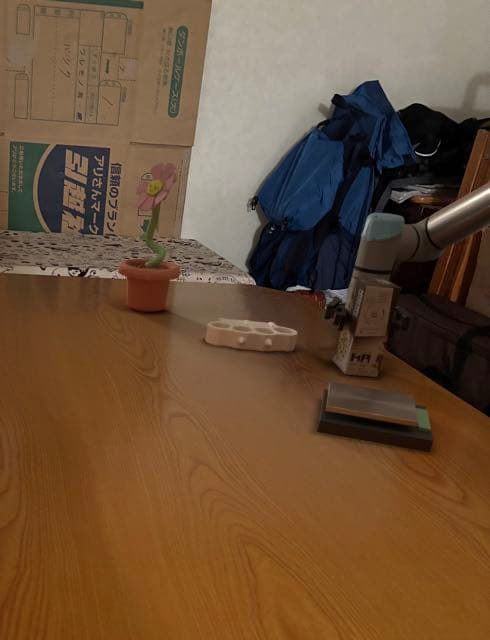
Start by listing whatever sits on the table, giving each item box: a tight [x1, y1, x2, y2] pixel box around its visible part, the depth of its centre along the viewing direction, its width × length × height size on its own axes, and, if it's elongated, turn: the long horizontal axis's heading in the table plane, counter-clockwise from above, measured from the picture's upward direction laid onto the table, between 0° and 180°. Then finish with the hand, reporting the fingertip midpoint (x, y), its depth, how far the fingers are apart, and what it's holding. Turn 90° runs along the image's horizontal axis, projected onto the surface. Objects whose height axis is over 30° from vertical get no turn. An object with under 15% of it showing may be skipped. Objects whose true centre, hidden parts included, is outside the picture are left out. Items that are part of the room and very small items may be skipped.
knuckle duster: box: [204, 317, 299, 352], centre depth 156 cm, size 3×18×15 cm
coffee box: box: [332, 275, 402, 378], centre depth 142 cm, size 9×6×16 cm
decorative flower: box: [117, 162, 181, 313], centre depth 169 cm, size 15×14×30 cm
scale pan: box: [326, 381, 418, 427], centre depth 119 cm, size 13×13×1 cm
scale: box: [316, 389, 434, 453], centre depth 120 cm, size 16×16×2 cm
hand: (367, 326), depth 138 cm, fingers closed on coffee box, 8 cm apart
